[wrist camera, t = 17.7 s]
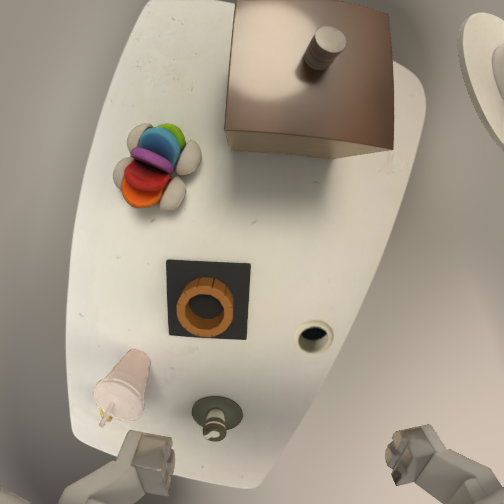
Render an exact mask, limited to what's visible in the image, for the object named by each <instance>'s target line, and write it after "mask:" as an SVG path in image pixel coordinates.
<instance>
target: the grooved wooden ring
mask: <svg viewBox="0 0 504 504" xmlns="http://www.w3.org/2000/svg"><path fill="white" fill-rule="evenodd" d="M198 294H207V295H212V296H213V297H215V298H217V299H218V300H219V301H220V302H221V304H222V306H223V308H224V310H223V311H222V313H221V314H220V315H219V316H217V317H215V318H213V319H203V318H200V317H199V316H197V315H195V314H194V313H193V311H192V310H191V308H190V306H189V300H190V298H192V297H194V296H196V295H198ZM177 316H178V320H179V321H180V323H181V324H182V326H183V327H184V328H186V330H187V331H189V332H190V333H192V334H194V335H196V336H197V335H198V336H199V337H211V335H212V337H214V336H216V335H218V334H221V333H223V332H224V330H226V329H227V328H228V326H229V325H230V324H231V322H232V320H233V295H232V294H231V292H230V290H229V288H228V287H226V285H225V284H224V283H222V282H220V281H219V280H217V279H215V280H214V278H207V277H201V279H200V278H197V279H195V280H193V281H191V282H189V284H187V285H186V287H185V289H184V290H183V292H182V293H181V296H180V298H179V300H178V302H177Z"/></svg>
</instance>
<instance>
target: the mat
mask: <svg viewBox="0 0 504 504" xmlns="http://www.w3.org/2000/svg"><path fill="white" fill-rule="evenodd" d="M250 269H251V264H247V263H225V262H204V261H185V260H167V261H166V273H167V304H168V325H169V335H174V336H186V337H199V336H198V335H197V336H196V335H194V334H192V333H190V332H189V331H187V330H186V328H184V327H183V326H182V324H181V323H180V321H179V320H178V316H177V302H178V300H179V298H180V296H181V293H182V292H183V290H184V289H185V287H186V285H187V284H189V282H191V281H193V280H195V279H197V278H200V279H201V277H207V278H214V280H215V279H217V280H219V281H220V282H222V283H224V284H225V285H226V287H228V288H229V290H230V292H231V294H232V295H233V320H232V322H231V324H230V325H229V326H228V328H227V329H226V330H224V332H223V333H221V334H218V335H216V336H214V337H212V335H211V337H201V338H218V339H240V340H246V336H247V319H248V302H249V285H250ZM189 306H190V308H191V310H192V311H193V313H194V314H195V315H197V316H199V317H200V318H203V319H213V318H215V317H217V316H219V315H220V314H221V313H222V311H223V310H224V308H223V306H222V304H221V302H220V301H219V300H218V299H217V298H215V297H213V296H212V295H207V294H198V295H196V296H194V297H192V298H190V300H189Z"/></svg>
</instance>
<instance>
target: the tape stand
mask: <svg viewBox="0 0 504 504" xmlns="http://www.w3.org/2000/svg"><path fill="white" fill-rule="evenodd" d="M224 130H225V133H226V137H227V140H228V143H229V146H230V149H231V151H248V152H264V153H277V154H289V155H300V156H310V157H319V158H328V159H337V158H343V157H349V156H355V155H361V154H368V153H374V152H381V151H388V150H393V145H394V80H393V60H392V46H391V34H390V24H389V16H388V14H387V13H384V12H381V11H377V10H374V9H371V8H367V7H364V6H360V5H356V4H352V3H348V2H343V1H338V0H236V2H235V11H234V20H233V30H232V41H231V51H230V63H229V74H228V87H227V99H226V113H225V127H224Z"/></svg>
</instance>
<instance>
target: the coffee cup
mask: <svg viewBox="0 0 504 504" xmlns="http://www.w3.org/2000/svg"><path fill="white" fill-rule="evenodd" d="M192 416H193V418H194V420H195V421H196V422H197V423H198V424H199V425H201V426H202V427H203V436H204V437H205V438H206V439H207V440H210V441H221V440H223V439H224V438H225V436H226V430H229V429H232V428H234V427H236V426H237V425H238V424H239V423H240V422H241V420H242V418H243V413H242V410H241V408H240V407H239V405H238V404H236V403H235V402H234V401H232V400H230V399H227V398H223V397H207V398H204V399H201V400H199V401H198V402H196V403H195V405H194V406H193V409H192Z"/></svg>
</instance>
